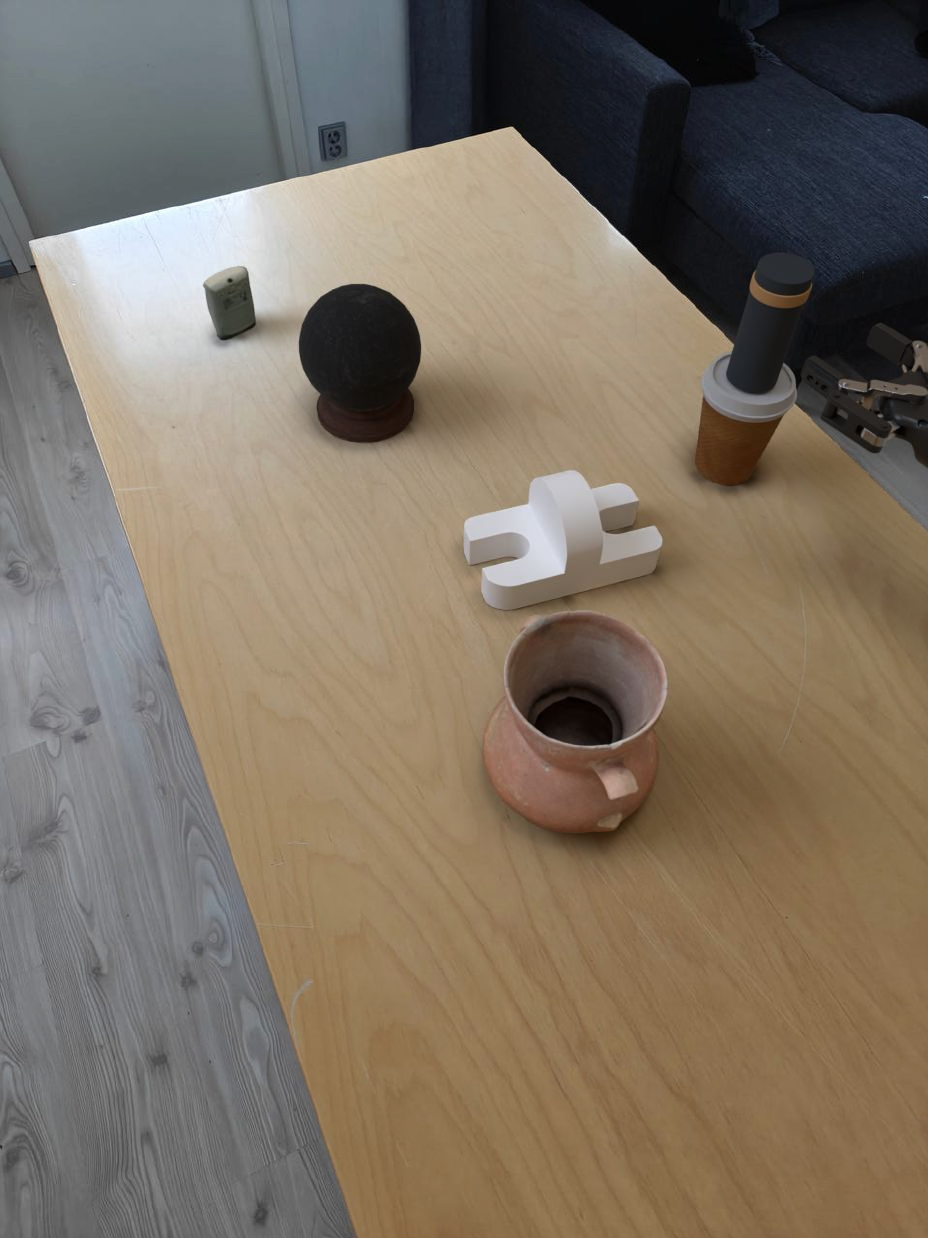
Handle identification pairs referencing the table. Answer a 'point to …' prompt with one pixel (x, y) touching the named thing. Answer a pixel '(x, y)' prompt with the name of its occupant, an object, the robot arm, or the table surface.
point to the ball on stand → (361, 361)
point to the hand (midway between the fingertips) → (839, 348)
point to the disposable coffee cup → (737, 423)
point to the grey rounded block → (230, 301)
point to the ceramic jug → (576, 722)
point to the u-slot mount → (560, 542)
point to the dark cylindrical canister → (769, 321)
